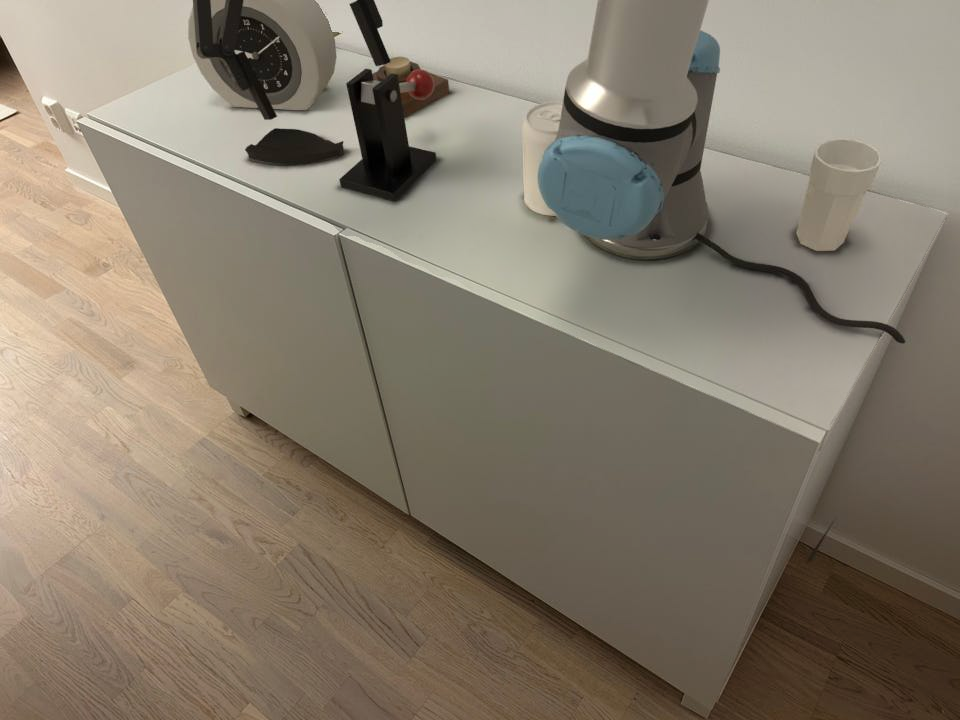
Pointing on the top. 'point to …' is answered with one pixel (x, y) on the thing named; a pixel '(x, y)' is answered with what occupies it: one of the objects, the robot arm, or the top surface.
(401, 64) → the button
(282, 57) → the alarm clock
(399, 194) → the bracket
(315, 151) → the curved wedge
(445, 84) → the button block
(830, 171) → the cup
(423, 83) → the lever
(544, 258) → the top surface
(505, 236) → the top surface
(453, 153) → the top surface
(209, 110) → the top surface
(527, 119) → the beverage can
